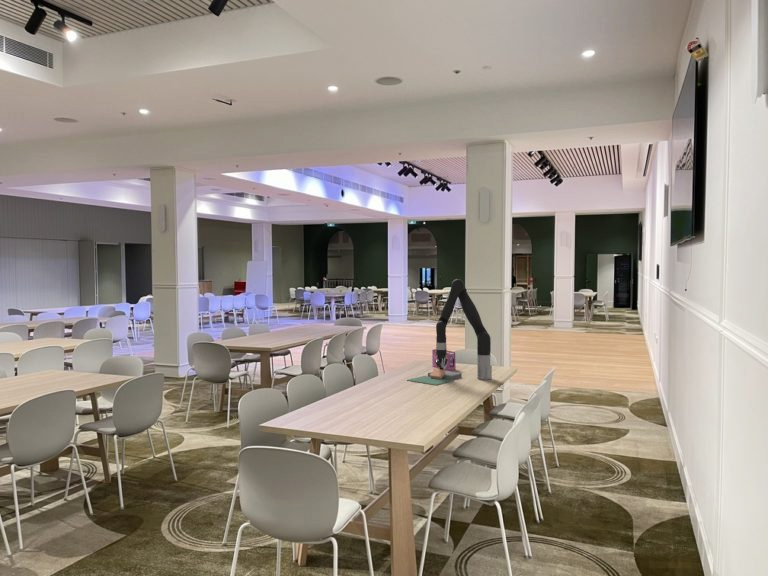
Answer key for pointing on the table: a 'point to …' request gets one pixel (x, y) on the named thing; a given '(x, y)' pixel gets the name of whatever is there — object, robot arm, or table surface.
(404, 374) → the table surface
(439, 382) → the green mat
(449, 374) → the gray riser
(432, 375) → the coral tile
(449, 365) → the gum box
